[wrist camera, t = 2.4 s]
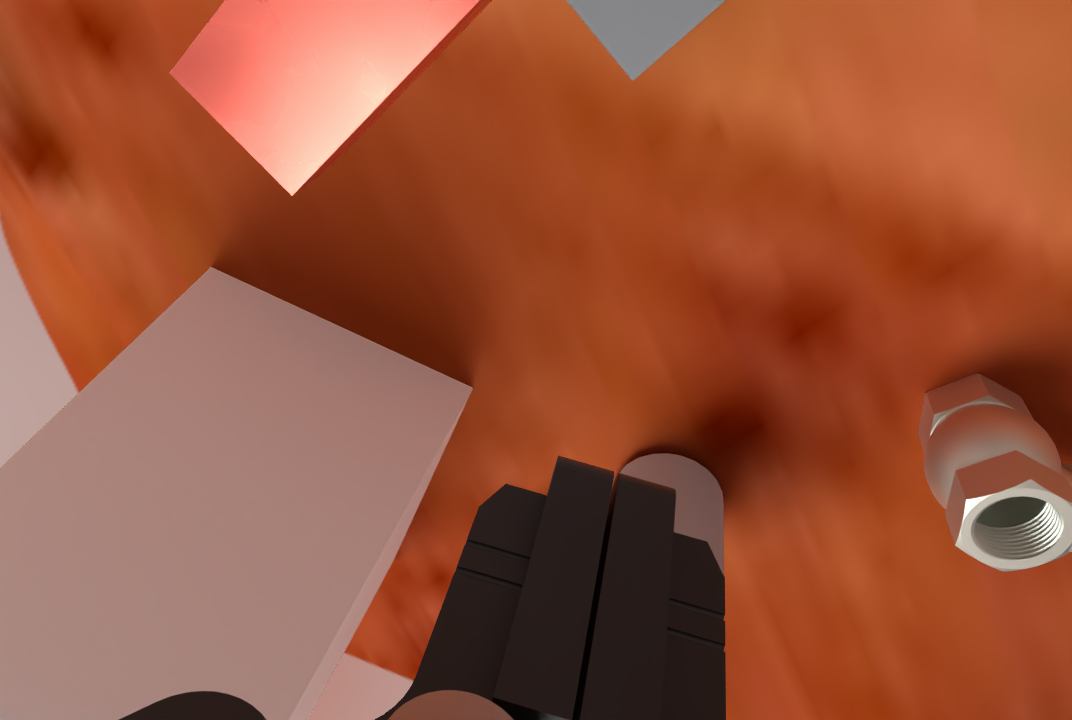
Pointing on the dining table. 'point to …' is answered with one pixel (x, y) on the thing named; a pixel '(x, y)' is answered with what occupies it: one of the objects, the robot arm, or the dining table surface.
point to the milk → (212, 511)
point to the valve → (996, 475)
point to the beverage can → (687, 496)
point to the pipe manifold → (641, 26)
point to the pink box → (313, 72)
